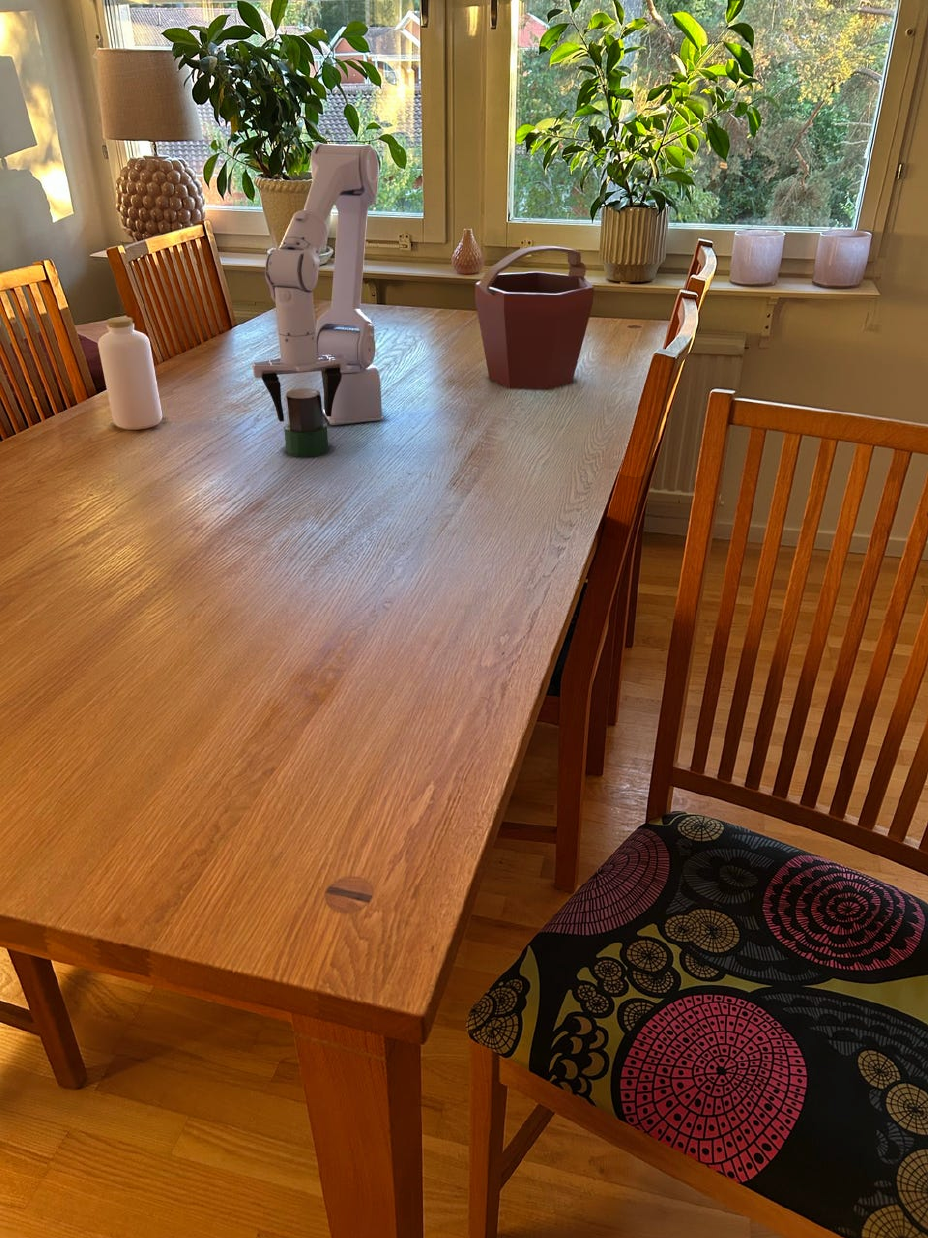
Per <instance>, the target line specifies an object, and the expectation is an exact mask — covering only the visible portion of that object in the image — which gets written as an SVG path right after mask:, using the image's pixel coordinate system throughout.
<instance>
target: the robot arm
mask: <svg viewBox="0 0 928 1238" xmlns="http://www.w3.org/2000/svg"><path fill="white" fill-rule="evenodd" d="M309 163H310V164H309V165H310V172H311V179H312V181H311V185H310V188H309V192H308V195H307V198H306V202H305V205H304V207H303V209H299V210H298V211H295V212H294V214H293V215H292V218H291V220H290V223H289V225H288V227H287V229H286V231H285V234H284V236H283V238H282V241H281V243H280V244H279V247H278V248H276V249H274V250H272V251H271V252H269V253H268V255H267V256H266V260H265V267H264V268H265V270H264V277H265V282H266V283H267V285H268V287H269V291H270V297H271V299H272V302H274V303H275V311H276V312H275V313H276V322H277V330H278V331H277V332H278V342H279V350H280V351H279V352H280V357H279V358H274V359H269V360H262V361H255V362H252V373H253V376H254V378H255V379H261V381H262V382H263V385H264V386H265V388H266V389H267V391H268V393H269V395H270V397H271V401H272V402H273V404H274V408H275V411H276V415H277V419H278V421H279V422H284V421H285V414H284V409H283V403H282V392H281V391H282V388H281V387H282V386H281V384H282V383H281V382H280V378H279V376H282V375H293V374H303V373H305V374H306V373H314V372H321V381H322V386H323V409H322V414H323V415H324V416H325V418H326V420H327V422H328V423H329V425H331V426H339V425H340V426H341V425H348V424H349V425H350V424H357V423H367V422H368V423H369V422H377V421H383V420H384V417H383V410H382V409H383V408H382V390H381V389H382V387H381V386H382V385H381V377H380V373H379V370H378V367H377V366H376V365H372V364H373V362H374V360H375V357H376V350H377V349H376V340H375V339H376V338H375V325H374V324H373V322H372V321H371V320H370V319H369V318H368V317H367V315H365V314H364V313H363V312H362V311H361V301H362V289H363V278H364V277H363V276H364V264H365V251H366V250H365V249H366V239H367V238H366V237H367V226H368V225H367V224H368V215H369V208H370V207H371V206H373V205H375V204H376V203H377V196H378V191H379V179H380V178H379V177H380V164H379V158H378V154H377V152H376V150H375V149H374V147H373V145H372V144H369V143H365V144H335V143H333V144H332V143H323V142H318V143H316V144H315V145H314V147H313V149H312V150H311V153H310V162H309ZM334 206H335V208H336V210H337V222H336V223H337V224H336V233H335V234H336V235H335V236H336V237H335V247H334V250H335V251H334V262H333V276H332V291H331V304H330V308H329V309H328V310H327V311H325V312H323V314H321V315H320V316H319V317H318V318H317V319H316V318H315V317H316V316H315V306H314V305H315V304H314V293H313V292H314V291H313V290H314V289H315V288H316V286H317V284H318V281H319V269H320V264H321V260H320V254H321V252H322V249H323V248H324V244H325V243H326V239H327V237H328V235H329V226H328V223H327V222H326V221H327V219H328V217H329V215H330V213H331V211H332V210H333V208H334ZM316 320H317V321H316ZM341 328H342V329H341ZM345 328H346V329H345ZM357 329H358V330H357Z"/></svg>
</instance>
